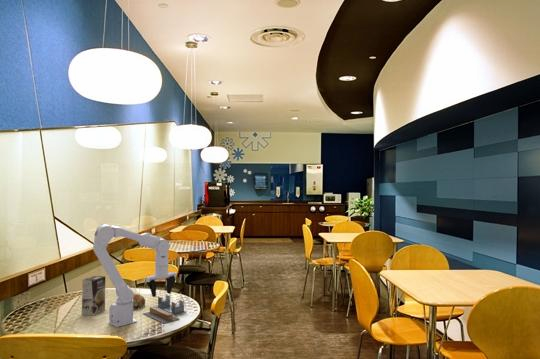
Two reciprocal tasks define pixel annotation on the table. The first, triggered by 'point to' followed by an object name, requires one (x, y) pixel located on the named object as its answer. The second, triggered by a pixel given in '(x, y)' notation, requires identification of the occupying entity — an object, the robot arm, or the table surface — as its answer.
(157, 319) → the mat
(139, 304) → the bread roll
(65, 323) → the table surface
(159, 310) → the rail
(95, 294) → the coffee box
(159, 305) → the stand
